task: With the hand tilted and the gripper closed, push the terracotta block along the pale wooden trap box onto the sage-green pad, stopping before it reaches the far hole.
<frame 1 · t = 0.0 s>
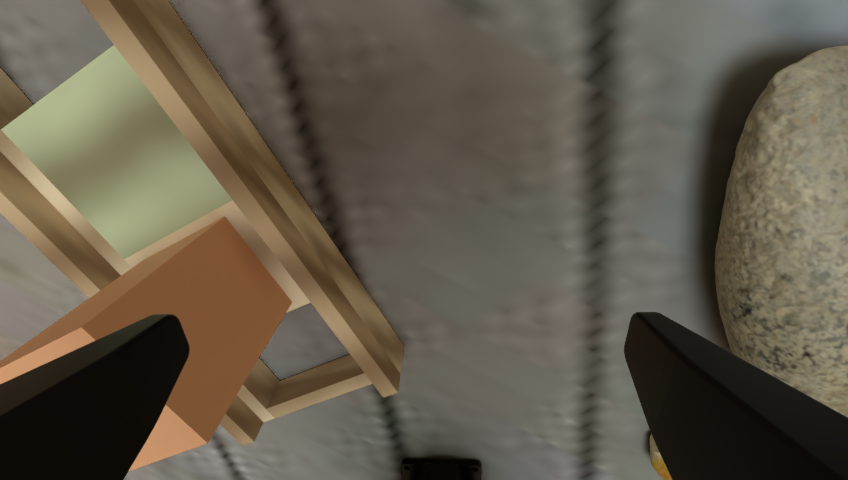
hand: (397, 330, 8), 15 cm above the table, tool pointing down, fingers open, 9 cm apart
terracotta block: (219, 281, 22), point 2 cm above the table, touching trap box
rock: (785, 232, 22), on the table
bread roll: (703, 434, 30), on the table
trap box: (190, 198, 23), on the table
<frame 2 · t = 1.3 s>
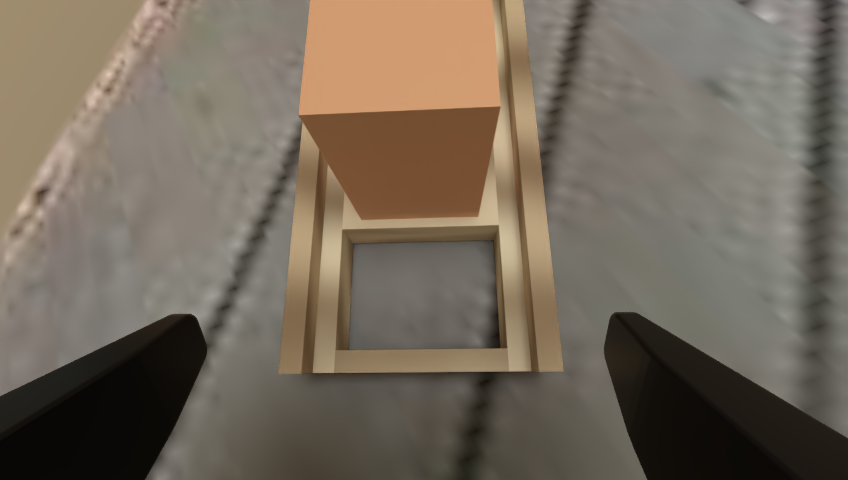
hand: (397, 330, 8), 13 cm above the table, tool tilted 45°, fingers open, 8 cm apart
terracotta block: (419, 165, 21), point 2 cm above the table, touching trap box
trap box: (421, 120, 25), on the table
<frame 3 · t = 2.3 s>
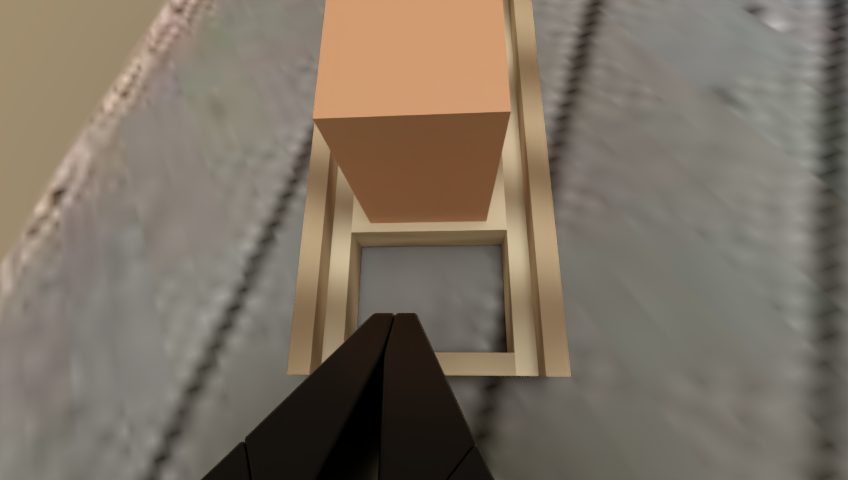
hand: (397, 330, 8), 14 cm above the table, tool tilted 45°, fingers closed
terracotta block: (428, 170, 21), point 2 cm above the table, touching trap box
trap box: (430, 126, 25), on the table
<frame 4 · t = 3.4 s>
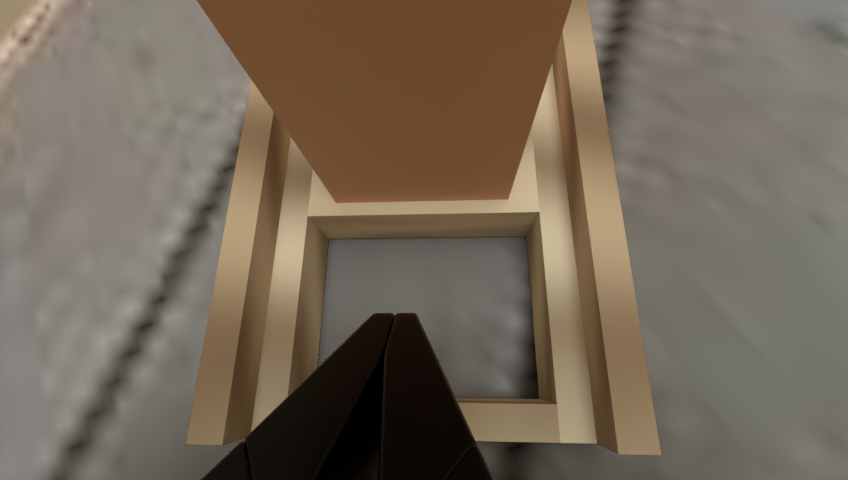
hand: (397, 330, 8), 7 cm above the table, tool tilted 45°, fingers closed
terracotta block: (421, 127, 15), point 2 cm above the table, touching trap box
trap box: (427, 76, 18), on the table
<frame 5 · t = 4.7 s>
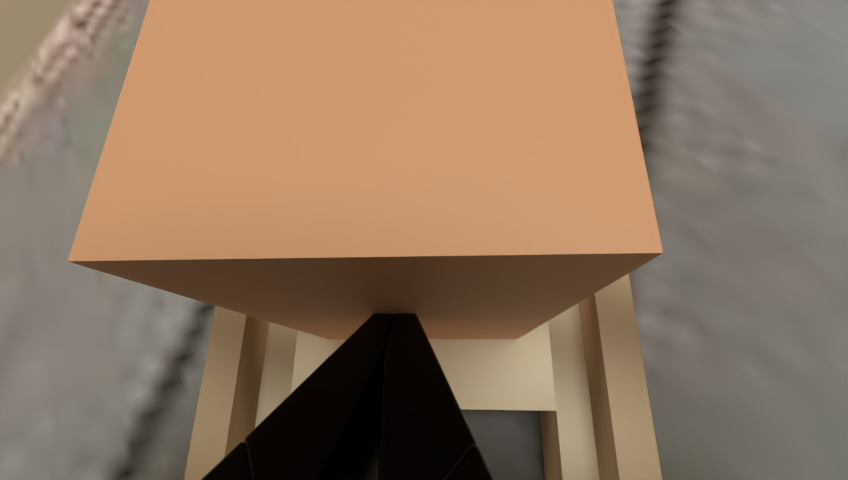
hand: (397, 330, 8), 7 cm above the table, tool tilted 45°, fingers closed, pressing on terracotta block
terracotta block: (421, 248, 13), point 3 cm above the table, touching gripper
trap box: (426, 199, 17), on the table
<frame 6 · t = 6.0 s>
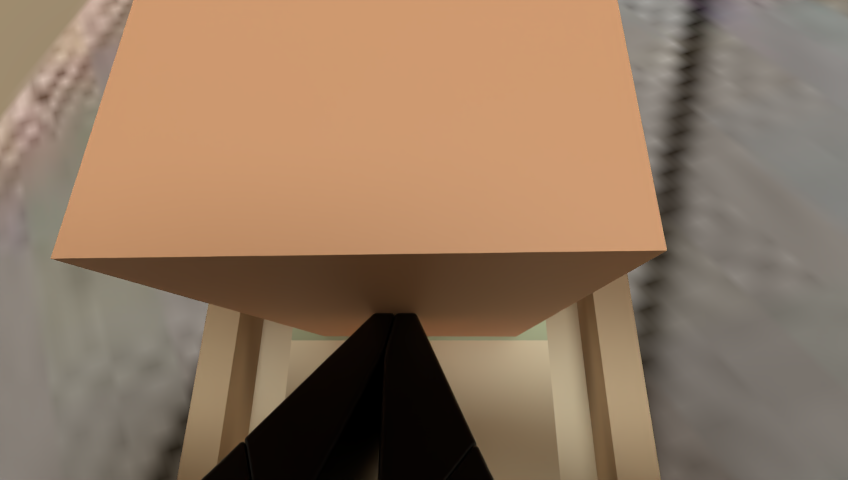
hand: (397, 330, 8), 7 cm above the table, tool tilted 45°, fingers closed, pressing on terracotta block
terracotta block: (419, 244, 13), point 3 cm above the table, touching gripper, trap box
trap box: (422, 318, 15), on the table
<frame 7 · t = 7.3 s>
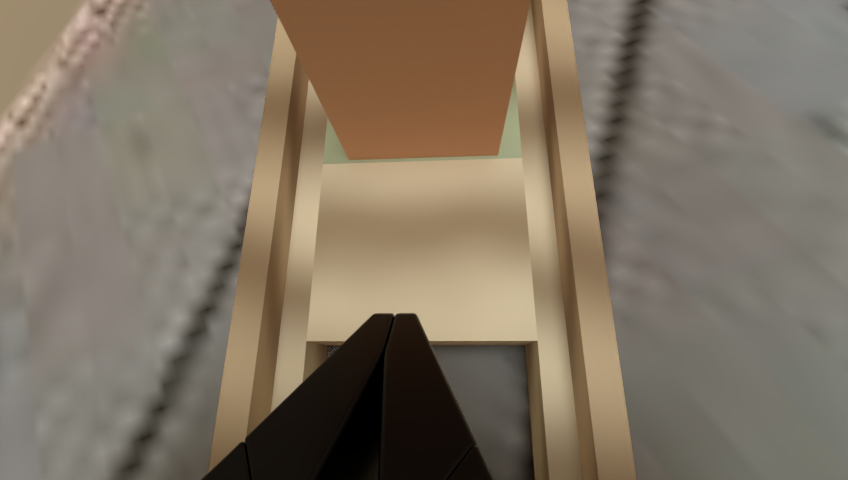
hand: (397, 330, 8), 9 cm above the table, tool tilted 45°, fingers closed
terracotta block: (422, 95, 17), point 2 cm above the table, touching trap box
trap box: (425, 168, 18), on the table
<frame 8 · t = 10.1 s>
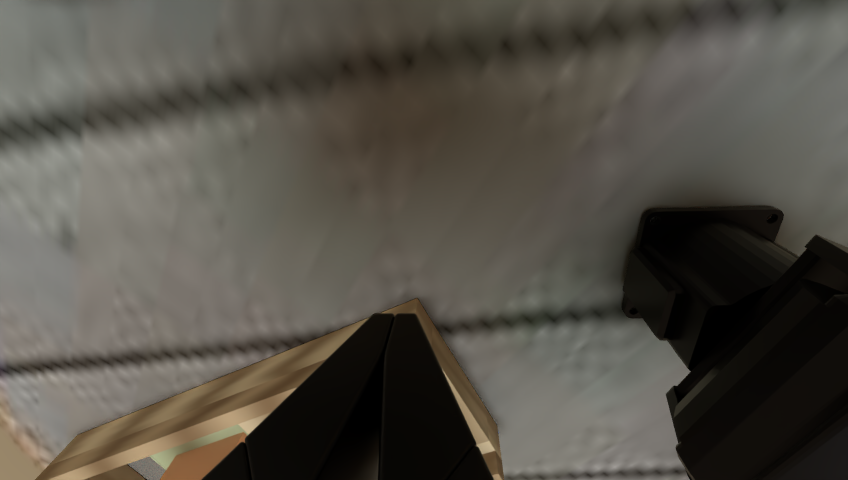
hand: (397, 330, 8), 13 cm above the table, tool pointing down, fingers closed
terracotta block: (237, 470, 27), point 2 cm above the table, touching trap box
trap box: (276, 431, 29), on the table
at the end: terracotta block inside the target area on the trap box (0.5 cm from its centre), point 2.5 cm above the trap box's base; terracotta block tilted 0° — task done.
